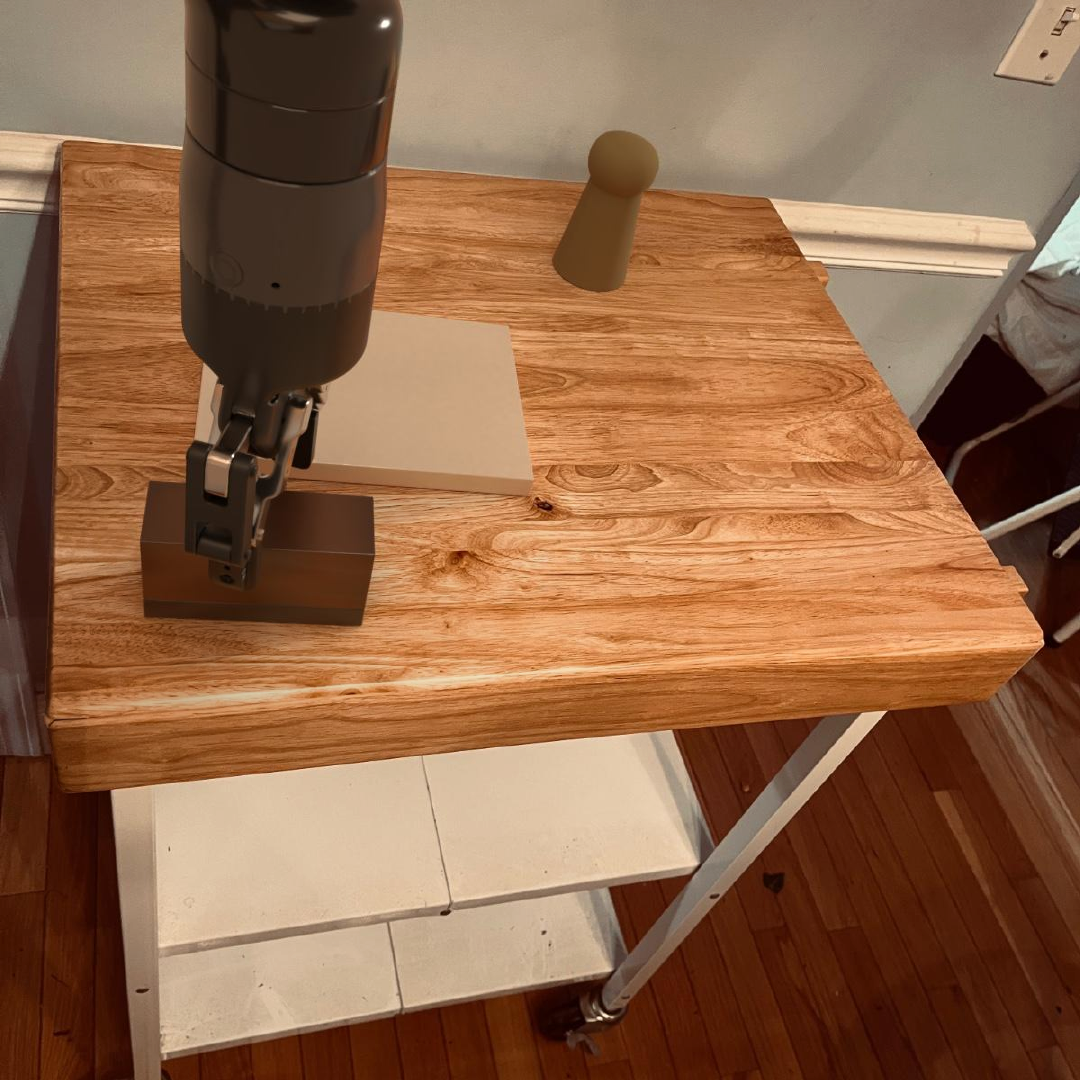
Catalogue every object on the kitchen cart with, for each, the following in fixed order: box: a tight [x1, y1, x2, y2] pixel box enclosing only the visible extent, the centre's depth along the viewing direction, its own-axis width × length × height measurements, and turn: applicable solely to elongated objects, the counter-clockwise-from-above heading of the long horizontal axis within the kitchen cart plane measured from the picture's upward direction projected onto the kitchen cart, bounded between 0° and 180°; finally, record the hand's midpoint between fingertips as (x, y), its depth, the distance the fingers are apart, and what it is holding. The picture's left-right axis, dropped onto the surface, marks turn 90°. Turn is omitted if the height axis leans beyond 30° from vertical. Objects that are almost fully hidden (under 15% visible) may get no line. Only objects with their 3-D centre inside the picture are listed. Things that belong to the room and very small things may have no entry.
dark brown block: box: [139, 479, 376, 627], centre depth 55 cm, size 11×4×6 cm, turn 98°
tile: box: [193, 309, 535, 497], centre depth 68 cm, size 20×15×2 cm
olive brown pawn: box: [552, 129, 660, 293], centre depth 81 cm, size 6×6×11 cm
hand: (264, 518), depth 53 cm, fingers open, 8 cm apart
